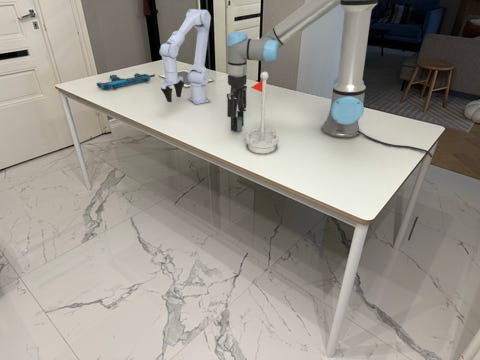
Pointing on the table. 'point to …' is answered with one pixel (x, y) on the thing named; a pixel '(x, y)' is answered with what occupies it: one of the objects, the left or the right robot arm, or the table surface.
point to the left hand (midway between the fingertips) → (174, 99)
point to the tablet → (185, 77)
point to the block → (239, 123)
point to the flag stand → (262, 125)
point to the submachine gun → (124, 81)
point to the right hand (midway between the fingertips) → (237, 128)
